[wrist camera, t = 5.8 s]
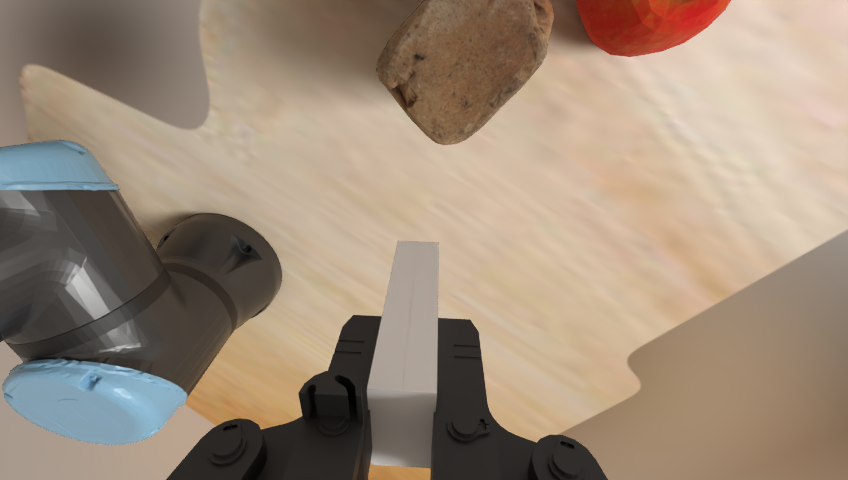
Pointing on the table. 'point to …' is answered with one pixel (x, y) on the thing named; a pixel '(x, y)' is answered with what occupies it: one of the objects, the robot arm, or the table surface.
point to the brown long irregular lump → (463, 61)
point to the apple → (645, 23)
